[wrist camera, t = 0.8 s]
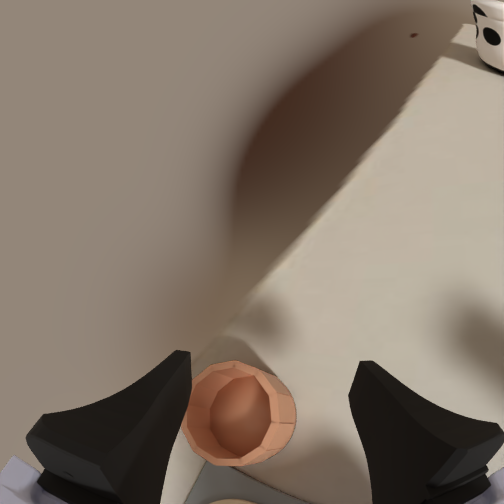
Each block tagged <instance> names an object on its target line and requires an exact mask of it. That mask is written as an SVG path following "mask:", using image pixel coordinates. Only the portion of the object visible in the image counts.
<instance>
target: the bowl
mask: <svg viewBox="0 0 504 504" xmlns="http://www.w3.org/2000/svg"><path fill="white" fill-rule="evenodd" d="M295 425H296V407H295V403H294V400H293V397H292V395H291V393H290V391H289V390H288V389H287V387H286V386H285V385H284V384H283V383H282V382H281V381H280V380H279V379H278V378H277V377H276V376H274V375H271V374H269V373H267V372H264V371H262V370H260V369H257V368H255V367H252V366H249V365H247V364H244V363H242V362H239V361H237V360H233V361H228V362H222V363H217V364H211V365H210V366H209V367H207V368H206V369H205V370H204V371H203V372H201V373H200V374H199V375H198V376H196V377H195V378H194V379H193V380H192V391H191V395H190V400H189V404H188V408H187V410H186V413H185V416H184V418H183V421H182V424H181V428H182V431H183V433H184V435H185V436H186V438H187V440H188V442H189V444H190V446H191V448H192V450H193V451H194V452H195V453H197V454H198V455H200V456H201V457H203V458H204V459H206V460H207V461H209V462H210V463H212V464H213V465H216V466H245V465H250V464H255V463H259V462H263V461H265V460H266V459H268V458H270V457H272V456H274V455H276V454H277V453H278V452H280V451H281V450H282V449H283V448H284V447H285V446H286V444H287V443H288V442H289V440H290V438H291V436H292V434H293V432H294V429H295Z"/></svg>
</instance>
